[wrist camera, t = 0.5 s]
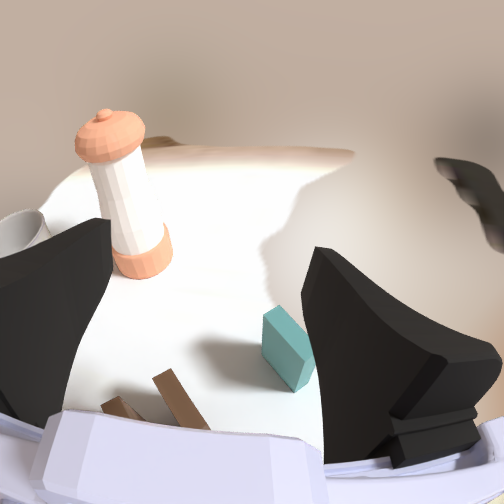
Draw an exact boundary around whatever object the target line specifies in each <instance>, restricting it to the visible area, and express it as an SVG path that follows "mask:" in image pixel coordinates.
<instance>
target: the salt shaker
mask: <svg viewBox="0 0 504 504" xmlns="http://www.w3.org/2000/svg"><path fill="white" fill-rule="evenodd" d="M144 132H145V126H144V124H143V122H142V120H141V119H140V118H139V117H138V116H137V115H136V114H135V113H132V112H127V111H111V110H110V109H103V110H101V111H99V112H98V113H97V115H96V117H94V118H93V119H91V120H90V121H88V122H87V123H86V124H85V125H83V126H82V127H81V128H80V129H79V131H78V132H77V135H76V139H75V151H76V153H77V154H78V156H79V157H80V158H82V159H83V160H84V161H85V162H88V165H89V168H90V171H91V175H92V178H93V181H94V184H95V187H96V190H97V193H98V199H99V205H100V211H101V216H102V219H110V220H111V240H112V255H113V257H114V259H115V262H116V264H117V266H118V269H119V270H120V272H121V273H122V274H123V275H125V276H127V277H129V278H132V279H145V278H150V277H152V276H155V275H157V274H159V273H160V272H161V271H163V270H164V269H165V268H166V267H167V266H168V265H169V263H170V262H171V259H172V256H173V249H172V245H171V241H170V237H169V233H168V229H167V227H166V225H165V224H164V223H163V221H162V217H161V212H160V207H159V204H158V201H157V199H156V197H155V194H154V192H153V190H152V187H151V185H150V183H149V180H148V178H147V174H146V170H145V165H144V161H143V156H142V152H141V147H140V144H141V143H142V141H143V138H144Z"/></svg>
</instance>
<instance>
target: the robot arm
mask: <svg viewBox="0 0 504 504" xmlns="http://www.w3.org/2000/svg"><path fill="white" fill-rule="evenodd" d="M112 271H113V260H112V240H111V220H110V219H101V218H93V219H90V220H87V221H85V222H83V223H80V224H78V225H76V226H74V227H72V228H70V229H68V230H66V231H64V232H62V233H60V234H58V235H56V236H53V237H51V238H49V239H47V240H45V241H43V242H40V243H38V244H36V245H34V246H32V247H29V248H27V249H24V250H22V251H19V252H17V253H14V254H11V255H9V256H6V257H2V258H0V504H487V503H489V502H490V501H492V500H493V499H495V498H497V497H498V496H500V495H501V494H503V493H504V416H502V417H498V418H495V419H492V420H489V421H486V422H484V423H482V424H480V425H479V426H477V427H476V426H475V424H474V421H473V419H475V418H476V417H477V414H478V413H477V411H476V409H475V407H474V406H475V404H476V403H477V402H478V401H479V400H480V399H481V398H482V397H483V396H484V395H485V393H486V392H487V391H488V390H489V389H490V388H491V387H492V385H493V384H494V382H495V381H496V380H497V378H498V376H499V374H500V372H501V368H502V364H503V363H502V359H501V357H500V356H499V354H498V353H497V351H496V349H495V348H494V347H493V345H492V344H490V343H488V342H485V341H482V340H479V339H476V338H473V337H470V336H467V335H464V334H462V333H459V332H457V331H455V330H452V329H450V328H447V327H445V326H443V325H441V324H439V323H437V322H435V321H433V320H431V319H429V318H427V317H425V316H424V315H422V314H420V313H418V312H416V311H415V310H413V309H411V308H410V307H408V306H406V305H405V304H403V303H402V302H400V301H399V300H397V299H395V298H394V297H393V296H391V295H390V294H389V293H387V292H386V291H385V290H383V289H382V288H381V287H379V286H378V285H376V284H375V283H374V282H373V281H372V280H370V279H369V278H368V277H367V276H365V275H364V274H363V273H362V272H361V271H359V270H358V269H357V268H355V266H353V265H352V264H351V263H350V262H348V261H347V260H346V259H345V258H344V257H342V256H341V255H340V254H338V253H337V252H335V251H334V250H332V249H329V248H322V247H315V249H314V252H313V256H312V259H311V262H310V266H309V269H308V272H307V275H306V278H305V282H304V285H303V288H302V291H301V300H302V310H303V316H304V321H305V325H306V328H307V333H308V337H309V340H310V344H311V348H312V352H313V356H314V359H315V363H316V368H317V373H318V378H319V386H320V395H321V405H322V417H323V437H324V464H323V462H322V456H321V451H320V450H318V449H316V448H315V447H313V446H311V445H310V444H308V443H306V442H305V441H303V440H301V439H299V438H295V437H287V436H279V435H272V434H261V433H238V432H224V431H212V430H201V429H192V428H184V427H176V426H169V425H162V424H156V423H150V422H144V421H138V420H133V419H128V418H123V417H118V416H113V415H109V414H104V413H100V412H91V411H82V410H74V409H69V410H64V411H62V412H61V410H62V405H63V400H64V395H65V391H66V387H67V383H68V379H69V375H70V371H71V368H72V364H73V361H74V358H75V355H76V352H77V349H78V346H79V344H80V341H81V339H82V336H83V334H84V332H85V330H86V328H87V326H88V324H89V322H90V320H91V318H92V316H93V314H94V312H95V310H96V308H97V306H98V304H99V303H100V301H101V299H102V297H103V295H104V293H105V290H106V288H107V285H108V282H109V280H110V277H111V274H112Z"/></svg>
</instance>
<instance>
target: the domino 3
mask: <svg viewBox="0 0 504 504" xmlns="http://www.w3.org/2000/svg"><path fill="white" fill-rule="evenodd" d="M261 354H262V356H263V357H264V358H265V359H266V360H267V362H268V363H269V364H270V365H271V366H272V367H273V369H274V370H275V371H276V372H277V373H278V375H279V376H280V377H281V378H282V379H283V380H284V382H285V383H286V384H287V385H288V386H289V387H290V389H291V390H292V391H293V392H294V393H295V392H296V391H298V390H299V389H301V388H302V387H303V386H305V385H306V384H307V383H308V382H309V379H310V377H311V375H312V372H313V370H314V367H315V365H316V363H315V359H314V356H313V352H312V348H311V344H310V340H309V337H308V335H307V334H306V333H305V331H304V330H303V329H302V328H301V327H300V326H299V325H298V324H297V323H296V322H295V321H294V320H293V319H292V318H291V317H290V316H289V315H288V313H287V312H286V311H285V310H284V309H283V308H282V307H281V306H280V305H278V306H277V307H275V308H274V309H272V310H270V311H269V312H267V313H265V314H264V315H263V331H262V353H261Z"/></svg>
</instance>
